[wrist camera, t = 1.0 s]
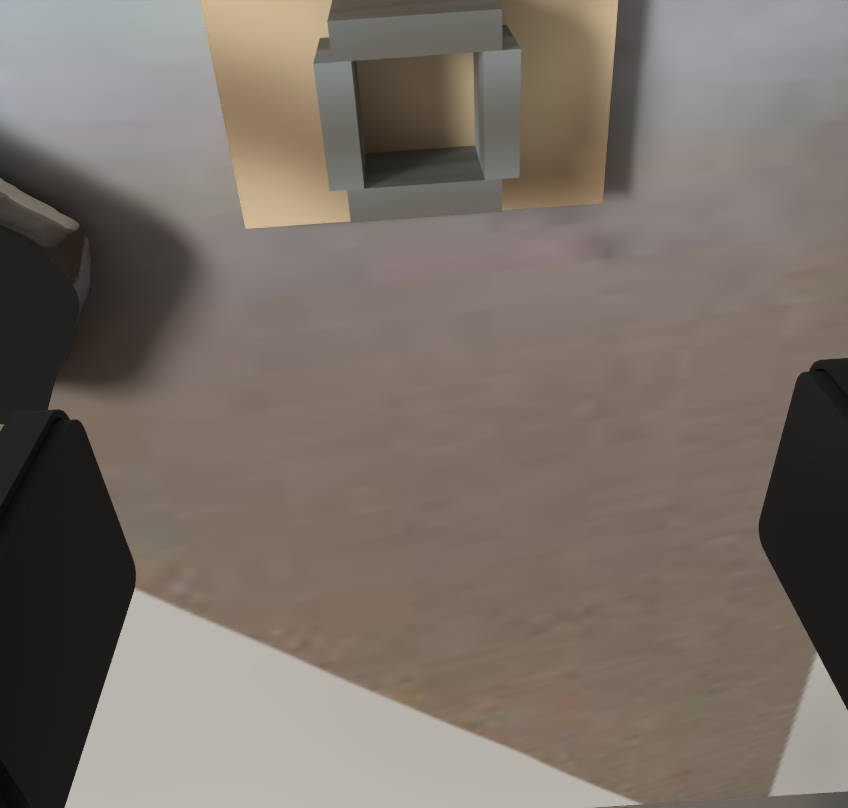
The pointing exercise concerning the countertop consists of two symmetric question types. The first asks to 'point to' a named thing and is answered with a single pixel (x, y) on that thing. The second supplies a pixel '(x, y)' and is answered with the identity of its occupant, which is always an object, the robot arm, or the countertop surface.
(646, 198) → the countertop surface
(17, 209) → the black sponge
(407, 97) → the holder
